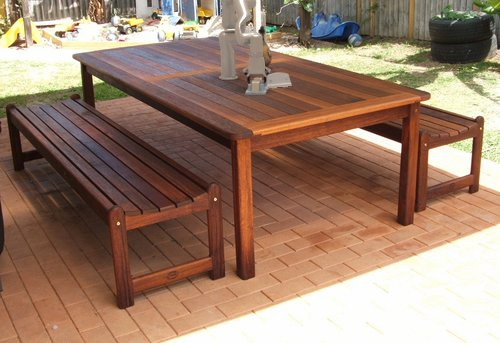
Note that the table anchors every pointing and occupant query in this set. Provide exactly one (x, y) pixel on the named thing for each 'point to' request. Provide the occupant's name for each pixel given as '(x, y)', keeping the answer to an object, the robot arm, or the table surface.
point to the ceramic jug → (265, 48)
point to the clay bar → (256, 84)
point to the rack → (261, 92)
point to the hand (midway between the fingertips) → (256, 82)
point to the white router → (278, 80)
